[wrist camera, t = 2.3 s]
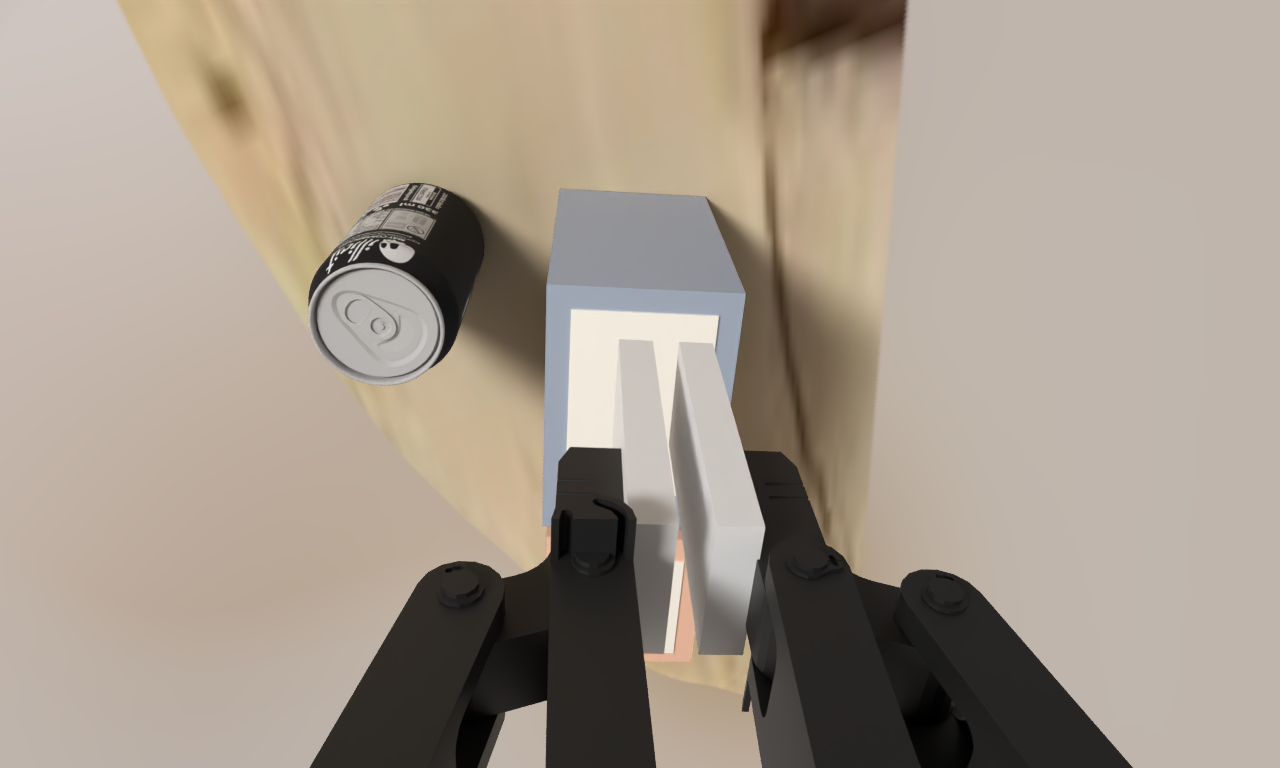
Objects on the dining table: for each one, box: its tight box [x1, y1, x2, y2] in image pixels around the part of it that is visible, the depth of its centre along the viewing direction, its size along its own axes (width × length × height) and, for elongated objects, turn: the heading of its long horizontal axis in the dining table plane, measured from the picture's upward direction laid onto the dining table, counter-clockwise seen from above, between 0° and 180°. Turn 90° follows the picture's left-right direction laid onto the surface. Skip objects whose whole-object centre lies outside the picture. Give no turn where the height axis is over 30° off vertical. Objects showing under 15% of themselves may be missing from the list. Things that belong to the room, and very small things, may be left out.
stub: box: [546, 526, 695, 662], centre depth 41 cm, size 8×8×1 cm
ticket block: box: [542, 189, 746, 530], centre depth 42 cm, size 12×8×14 cm, turn 176°
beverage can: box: [308, 183, 484, 386], centre depth 41 cm, size 7×7×12 cm
